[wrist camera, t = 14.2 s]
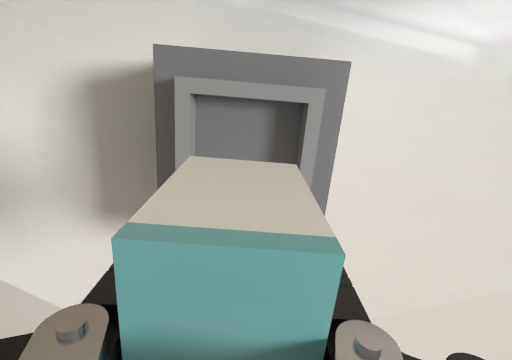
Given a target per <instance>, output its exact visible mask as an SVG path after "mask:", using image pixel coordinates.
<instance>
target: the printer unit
mask: <svg viewBox="0 0 512 360" xmlns="http://www.w3.org/2000/svg"><path fill="white" fill-rule="evenodd" d="M153 58H154V89H155V119H156V150H157V181H158V189H159V188H160V187H161V186H162V185H163V184H164V183H165V182H166V181H167V179H168V178H169V177H170V176H171V175H172V174H173V173H174V172H175V171H176V170H177V169H178V168H179V167H180V166H181V165H182V164H183V163H184V162H185V161H186V160H187V158H188V157H189V156H199V157H211V158H224V159H236V160H249V161H261V162H274V163H286V164H296V165H297V167H298V169H299V170H300V172H301V174H302V176H303V178H304V180H305V181H306V183H307V185H308V187H309V189H310V191H311V192H312V194H313V196H314V198H315V200H316V202H317V203H318V205H319V207H320V209H321V211H322V213H323V214H324V216H325V210H326V204H327V199H328V193H329V187H330V182H331V176H332V170H333V164H334V159H335V153H336V147H337V142H338V136H339V130H340V125H341V119H342V113H343V107H344V102H345V96H346V90H347V85H348V79H349V73H350V68H351V62H349V61H338V60H327V59H316V58H305V57H293V56H282V55H271V54H260V53H249V52H237V51H226V50H215V49H204V48H193V47H181V46H170V45H159V44H153Z"/></svg>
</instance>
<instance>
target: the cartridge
mask: <svg viewBox="0 0 512 360" xmlns="http://www.w3.org/2000/svg"><path fill="white" fill-rule="evenodd" d="M111 241H112V252H113V263H114V274H115V285H116V296H117V307H118V318H119V329H120V340H121V351H122V360H323V358H324V353H325V348H326V344H327V339H328V334H329V330H330V325H331V320H332V316H333V311H334V306H335V302H336V297H337V292H338V288H339V283H340V278H341V274H342V269H343V264H344V260H345V253H344V251H343V249H342V248H341V246H340V244H339V242H338V240H337V238H336V237H335V235H334V233H333V231H332V229H331V227H330V226H329V224H328V222H327V220H326V218H325V216H324V214H323V213H322V211H321V209H320V207H319V205H318V203H317V202H316V200H315V198H314V196H313V194H312V192H311V191H310V189H309V187H308V185H307V183H306V181H305V180H304V178H303V176H302V174H301V172H300V170H299V169H298V167H297V165H296V164H286V163H274V162H261V161H249V160H236V159H224V158H211V157H199V156H189V157H188V158H187V160H186V161H185V162H184V163H183V164H182V165H181V166H180V167H179V168H178V169H177V170H176V171H175V172H174V173H173V174H172V175H171V176H170V177H169V178H168V179H167V181H166V182H165V183H164V184H163V185H162V186H161V187H160V188H159V189H158V190H157V191H156V192H155V193H154V194H153V195H152V196H151V197H150V198H149V199H148V200H147V202H146V203H145V204H144V205H143V206H142V207H141V208H140V209H139V210H138V211H137V212H136V213H135V214H134V215H133V216H132V217H131V218H130V219H129V220H128V221H127V223H126V224H125V225H124V226H123V227H122V228H121V229H120V230H119V231H118V232H117V233H116V234H115V235H114V236H113V237H112V238H111Z"/></svg>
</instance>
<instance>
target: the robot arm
mask: <svg viewBox="0 0 512 360" xmlns="http://www.w3.org/2000/svg"><path fill="white" fill-rule="evenodd" d="M0 360H122V351H121V340H120V329H119V318H118V307H117V296H116V285H115V274H114V263H113V264H112V265H111V267H110V268H109V271H107V272H106V273H105V274H104V275H103V277H102V278H101V279H100V280H99V282H98V283H97V284H96V285H95V287H94V288H93V289H92V290H91V292H90V293H89V294H88V295H87V296H86V298H85V299H84V300H83V301H82V303H81V304H78V305H73V306H70V307H67V308H64V309H62V310H60V311H58V312H56V313H54V314H53V315H51V316H50V317H48V318H47V319H45V321H43V322H42V323H41V324H40V325H39V326H38V327H37V329H36V330H35V332H34V333H30V334H25V335H20V336H15V337H9V338H4V339H0ZM323 360H420V359H417V358H415V357H411V356H409V355H406V354H404V353H402V352H401V351H400V348H399V346H398V345H397V343H396V342H395V341H394V339H393V338H392V337H391V336H390V335H389V334H387V333H386V332H385V331H384V330H382V329H381V328H379V327H378V326H376V325H374V324H372V323H371V322H370V319H369V317H368V315H367V313H366V311H365V309H364V307H363V305H362V303H361V301H360V299H359V297H358V295H357V293H356V291H355V289H354V287H352V283H351V281H350V279H349V278H348V275H347V273H346V271H345V269H344V267H343V269H342V274H341V278H340V283H339V288H338V292H337V297H336V302H335V306H334V311H333V316H332V320H331V325H330V330H329V334H328V339H327V344H326V348H325V353H324V358H323ZM446 360H484V359H482V358H480V357H477V356H474V355H470V354H466V353H454V354H451V355H449V356H448V357H447V358H446Z"/></svg>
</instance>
